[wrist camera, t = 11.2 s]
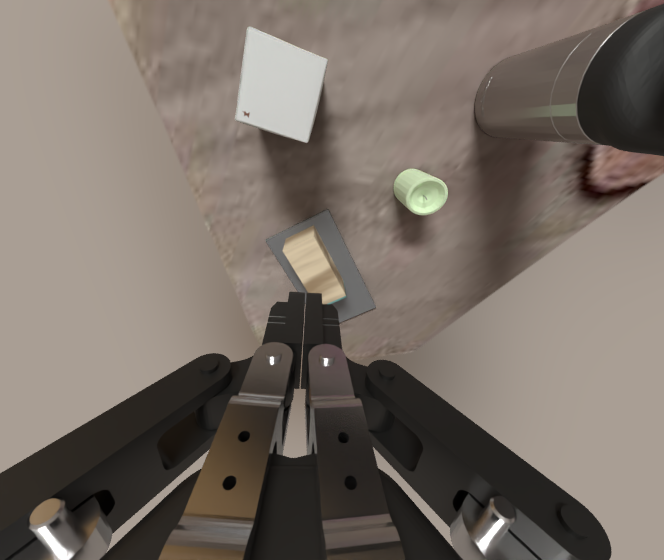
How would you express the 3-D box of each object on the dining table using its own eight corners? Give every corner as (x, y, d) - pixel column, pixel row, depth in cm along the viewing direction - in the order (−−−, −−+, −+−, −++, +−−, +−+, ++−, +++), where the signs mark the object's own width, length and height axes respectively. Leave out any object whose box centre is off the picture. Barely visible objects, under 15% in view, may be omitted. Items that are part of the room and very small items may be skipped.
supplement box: (309, 140, 39) (307, 147, 28) (255, 122, 38) (231, 120, 27) (325, 78, 36) (330, 58, 25) (267, 55, 35) (245, 23, 24)
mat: (375, 305, 53) (375, 307, 52) (322, 327, 55) (322, 329, 54) (327, 208, 44) (328, 210, 43) (266, 239, 46) (265, 240, 45)
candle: (410, 209, 45) (428, 225, 37) (386, 190, 43) (400, 203, 36) (433, 182, 43) (457, 193, 36) (408, 161, 41) (428, 169, 34)
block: (346, 297, 45) (313, 236, 40) (318, 309, 46) (282, 251, 41) (344, 281, 50) (313, 225, 44) (318, 293, 50) (285, 238, 45)
